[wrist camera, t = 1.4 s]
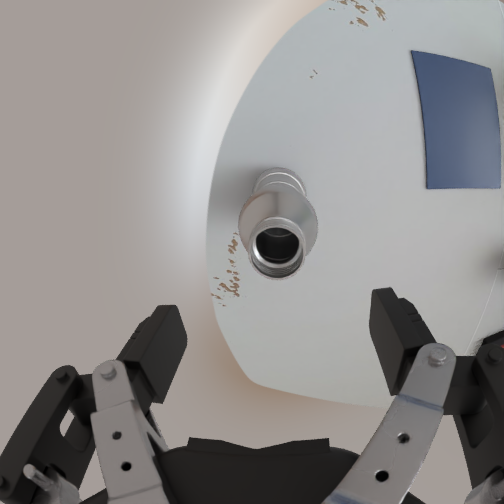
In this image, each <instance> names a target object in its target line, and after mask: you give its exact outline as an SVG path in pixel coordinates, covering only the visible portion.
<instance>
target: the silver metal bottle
mask: <svg viewBox="0 0 504 504" xmlns="http://www.w3.org/2000/svg"><path fill="white" fill-rule="evenodd" d="M238 229H239V235H240V238H241V241H242V243H243V245H244V247H245V249H246V250H247V252H248V255H249V260H250V263H251V265H252V266H253V268H254V269H255V270H256V271H257V272H258V273H259V274H260V275H262V276H264V277H266V278H268V279H272V280H283V279H287V278H289V277H291V276H293V275H294V274H296V273H297V272H298V271H299V270H300V269H301V267H302V265H303V263H304V260H305V257H306V256H307V255H308V253H309V252H310V251H311V249H312V247H313V245H314V244H315V241H316V238H317V234H318V220H317V216H316V213H315V210H314V208H313V206H312V205H311V204H310V202H309V201H308V200H307V198H306V190H305V186H304V184H303V182H302V180H301V179H300V178H299V176H298V175H296V174H295V173H294V172H292V171H291V170H288V169H285V168H272V169H269V170H267V171H265V172H263V173H262V174H261V175H260V176H259V177H258V178H257V180H256V182H255V184H254V186H253V191H252V196H251V197H250V198H249V199H248V200H247V201H246V203H245V204H244V206H243V208H242V210H241V212H240V216H239V222H238Z"/></svg>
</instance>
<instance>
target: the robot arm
mask: <svg viewBox="0 0 504 504" xmlns="http://www.w3.org/2000/svg"><path fill="white" fill-rule="evenodd" d="M369 329H370V335H371V338H372V341H373V344H374V346H375V349H376V352H377V355H378V358H379V361H380V364H381V367H382V370H383V373H384V376H385V379H386V382H387V385H388V388H389V392H390V395H391V396H393V395H396V397H395V398H394V400H393V402H392V404H391V406H390V408H389V410H388V411H387V413H386V415H385V417H384V418H383V420H382V422H381V424H380V425H379V427H378V429H377V430H376V432H375V433H374V435H373V437H372V438H371V440H370V441H369V443H368V444H367V446H366V448H365V449H364V451H363V452H362V453H361V455H358V454H356V453H354V452H351V451H348V450H345V449H341V448H336V447H330V446H329V438H325V439H314V440H301V441H291V442H287V443H283V444H279V445H274V446H270V447H265V448H261V449H252V448H248V447H244V446H240V445H236V444H232V443H229V442H225V441H222V440H211V439H201V438H191V437H189V441H188V444H187V446H183V447H177V448H174V449H171V450H170V449H169V448H168V446H167V445H166V443H165V440H164V438H163V436H162V434H161V431H160V429H159V427H158V424H157V422H156V420H155V417H154V415H153V412H152V410H151V409H150V405H151V403H152V402H153V403H161V404H163V402H164V399H165V397H166V395H167V392H168V390H169V387H170V385H171V382H172V380H173V378H174V375H175V373H176V371H177V368H178V365H179V363H180V361H181V359H182V356H183V354H184V351H185V349H186V346H187V334H186V331H185V328H184V325H183V322H182V319H181V316H180V313H179V310H178V308H177V306H176V305H159V306H157V307H156V309H155V311H154V312H153V314H152V315H151V316H150V317H148V318H146V319H145V320H144V321H143V322H141V323H140V324H139V325H138V327H137V328H136V330H135V333H133V334H132V336H131V337H130V339H129V340H128V342H127V343H126V345H125V346H124V348H123V349H122V351H121V353H120V354H119V355H118V357H117V358H116V360H108V361H105V362H104V363H102V364H100V365H99V366H97V368H96V369H95V370H94V371H93V374H86V375H79V374H78V372H77V371H76V369H75V368H74V367H73V366H70V365H66V366H62V367H60V368H58V369H56V370H55V371H54V372H53V373H52V374H51V376H50V377H49V379H48V380H47V382H46V383H45V384H44V386H43V387H42V389H41V390H40V392H39V393H38V395H37V396H36V398H35V399H34V401H33V402H32V404H31V405H30V407H29V408H28V410H27V412H26V413H25V415H24V416H23V418H22V420H21V421H20V423H19V425H18V426H17V428H16V430H15V431H14V433H13V435H12V436H11V438H10V440H9V442H8V443H7V445H6V447H5V449H4V451H3V452H2V454H1V456H0V501H2V502H3V503H5V504H425V503H424V502H422V501H421V500H420V499H418V498H417V497H415V496H414V495H413V494H411V493H410V492H408V490H409V488H410V487H411V485H412V483H413V481H414V479H415V477H416V475H417V474H418V472H419V469H420V468H421V466H422V463H423V461H424V459H425V457H426V455H427V453H428V451H429V448H430V446H431V443H432V441H433V439H434V437H435V434H436V432H437V429H438V426H439V424H440V421H441V418H442V416H443V415H453V418H454V421H455V424H456V427H457V430H458V434H459V437H460V440H461V444H462V447H463V451H464V455H465V459H466V463H467V467H468V471H469V476H470V480H471V485H472V491H471V492H470V493H469V494H468V496H467V497H466V500H465V503H464V504H504V348H503V347H501V346H499V345H497V344H485V345H483V346H481V347H480V348H479V350H478V352H477V354H476V356H456V355H455V353H454V352H453V350H452V349H451V348H449V347H448V346H446V345H444V344H440V343H437V342H436V341H435V339H434V337H433V335H432V334H431V332H430V330H429V329H428V327H427V326H426V324H425V322H424V321H422V318H421V316H420V314H418V311H417V310H416V308H415V307H414V305H413V304H412V303H411V302H409V301H408V300H406V299H405V298H399V299H398V297H397V296H396V294H395V292H394V291H393V289H392V288H391V287H389V288H381V289H374V290H373V291H372V297H371V309H370V319H369ZM68 409H69V410H70V411H71V413H73V415H74V416H75V417H74V419H73V420H72V422H71V424H70V426H69V428H68V430H67V432H66V434H65V436H64V437H63V436H62V434H61V432H60V424H61V422H62V420H63V418H64V416H65V414H66V413H67V411H68ZM95 448H96V450H97V454H98V458H99V462H100V467H101V471H102V474H103V478H104V481H105V485H106V488H105V489H104V490H102V491H100V492H98V493H97V494H95V495H93V496H91V497H89V498H88V499H86V500H84V501H82V500H81V499H80V498H79V492H78V490H79V488H80V485H81V483H82V480H83V478H84V475H85V473H86V470H87V468H88V465H89V463H90V460H91V458H92V455H93V453H94V451H95Z"/></svg>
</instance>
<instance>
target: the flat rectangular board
mask: <svg viewBox="0 0 504 504" xmlns="http://www.w3.org/2000/svg"><path fill="white" fill-rule="evenodd" d="M411 53H412V57H413V62H414V66H415V71H416V76H417V82H418V88H419V94H420V100H421V107H422V115H423V124H424V135H425V148H426V170H427V189H447V188H501V143H500V128H499V118H498V109H497V102H496V95H495V89H494V83H493V78H492V73H491V69H490V68H487V67H484V66H480V65H477V64H473V63H470V62H466V61H462V60H458V59H454V58H450V57H446V56H441V55H436V54H431V53H425V52H419V51H413V50H412V51H411Z"/></svg>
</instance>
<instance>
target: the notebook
mask: <svg viewBox="0 0 504 504" xmlns="http://www.w3.org/2000/svg"><path fill="white" fill-rule="evenodd" d="M485 344H497V345H499V346H501V347H503V348H504V331H502V332H499V333H497V334H495V335H493V336H490V337H488V338H485V339H484V341H483V344H482V346H483V345H485Z"/></svg>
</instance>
